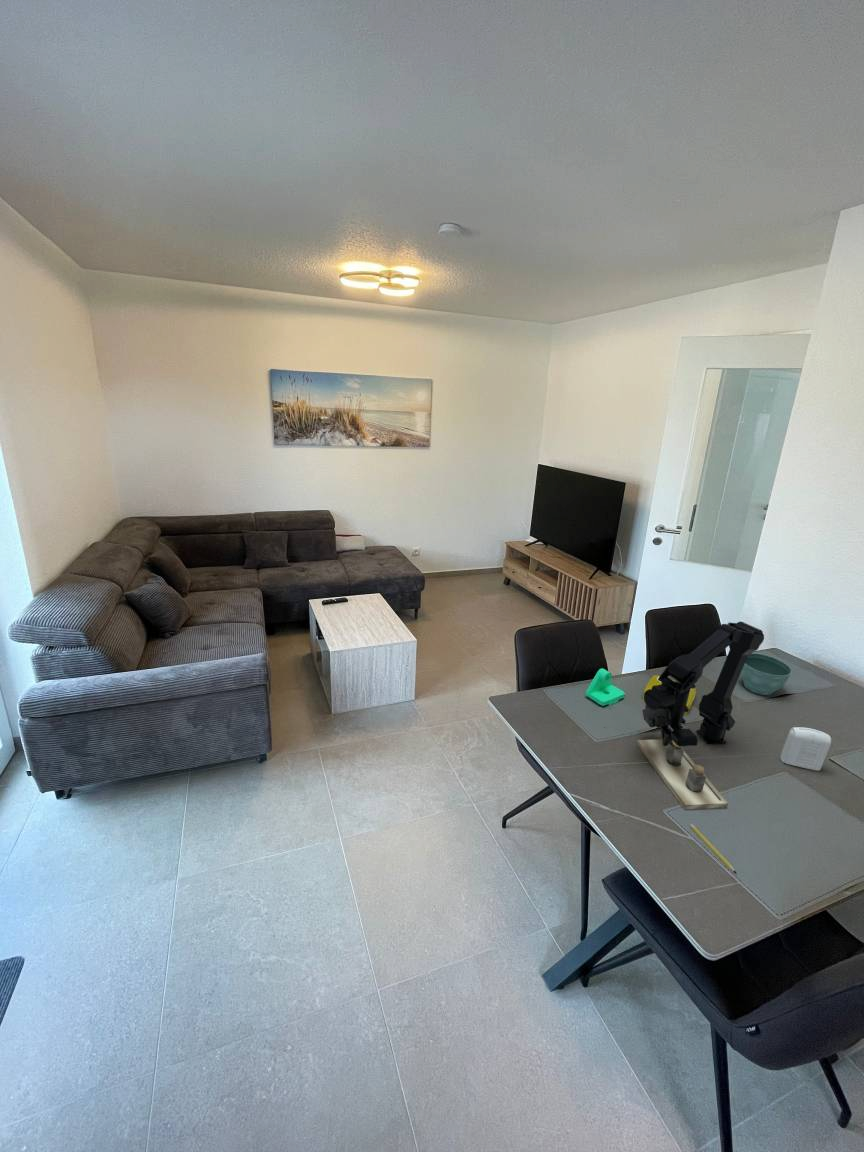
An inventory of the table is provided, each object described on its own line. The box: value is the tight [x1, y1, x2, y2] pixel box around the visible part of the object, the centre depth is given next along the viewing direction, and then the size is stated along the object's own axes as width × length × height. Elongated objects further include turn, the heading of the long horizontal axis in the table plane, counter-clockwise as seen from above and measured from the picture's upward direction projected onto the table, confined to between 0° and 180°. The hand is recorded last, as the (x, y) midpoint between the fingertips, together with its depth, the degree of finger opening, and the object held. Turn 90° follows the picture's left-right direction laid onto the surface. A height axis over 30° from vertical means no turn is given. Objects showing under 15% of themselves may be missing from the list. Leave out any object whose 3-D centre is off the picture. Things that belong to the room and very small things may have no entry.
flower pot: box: [740, 652, 793, 696], centre depth 187 cm, size 16×16×11 cm
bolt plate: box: [636, 738, 729, 811], centre depth 142 cm, size 12×26×8 cm, turn 6°
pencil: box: [689, 823, 737, 875], centre depth 120 cm, size 1×14×1 cm, turn 17°
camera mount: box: [585, 668, 626, 706], centre depth 177 cm, size 12×8×10 cm, turn 122°
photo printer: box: [779, 726, 832, 772], centre depth 148 cm, size 10×4×12 cm, turn 73°
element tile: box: [642, 674, 697, 716], centre depth 180 cm, size 15×15×5 cm
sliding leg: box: [665, 741, 685, 764], centre depth 145 cm, size 3×3×7 cm
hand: (664, 745), depth 151 cm, fingers closed
